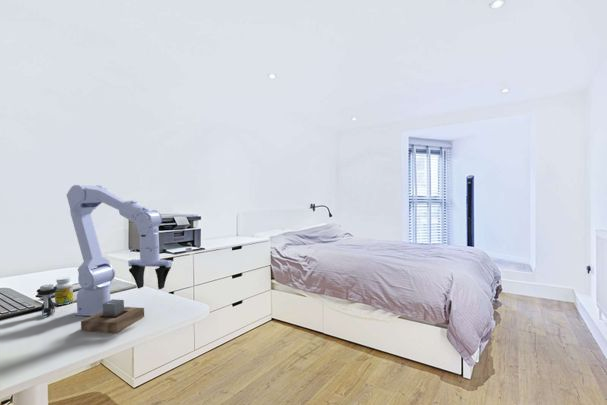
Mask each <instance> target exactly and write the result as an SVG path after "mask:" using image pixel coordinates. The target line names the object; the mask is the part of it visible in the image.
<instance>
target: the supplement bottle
mask: <svg viewBox="0 0 607 405" xmlns="http://www.w3.org/2000/svg"><path fill="white" fill-rule="evenodd" d="M56 283H57V284H55V285H54V286H55V287H57V289H56V292H55V293H54V302H55V303H56V304H67V305H70V304H71V303H70V302H71V301H73V302H74V290H73V289H74V286H73V285H74V284H73V282H71V277H70V276H64V277H59V278H56ZM69 303H70V304H69ZM56 304H55V305H56Z"/></svg>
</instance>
